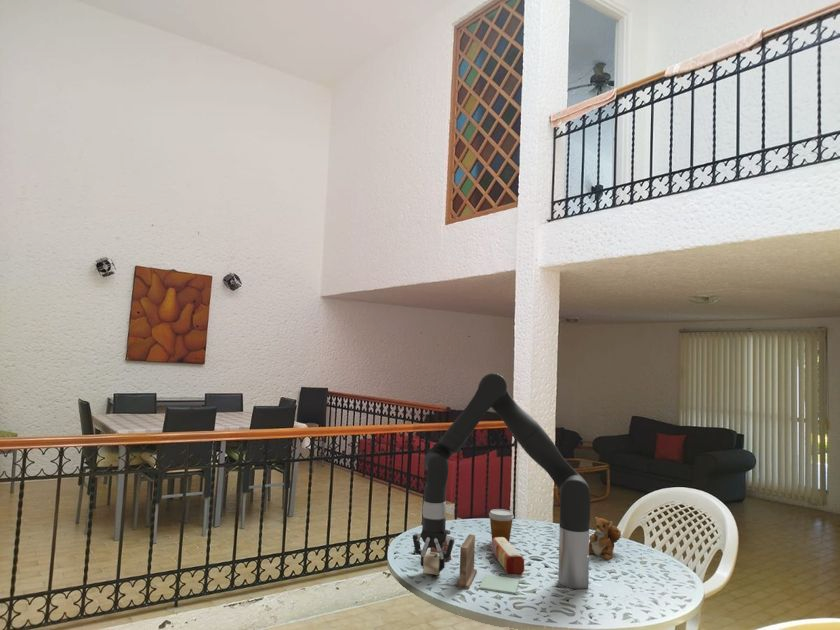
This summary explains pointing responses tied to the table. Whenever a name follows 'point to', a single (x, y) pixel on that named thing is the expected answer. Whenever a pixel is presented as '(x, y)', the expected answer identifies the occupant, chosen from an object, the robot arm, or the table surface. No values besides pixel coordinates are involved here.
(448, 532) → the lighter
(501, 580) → the sage pad
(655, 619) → the table surface
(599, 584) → the table surface
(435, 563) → the letter cube
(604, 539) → the stuffed squirrel
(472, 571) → the walnut screen
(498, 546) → the snack package
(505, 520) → the disposable coffee cup
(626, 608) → the table surface
